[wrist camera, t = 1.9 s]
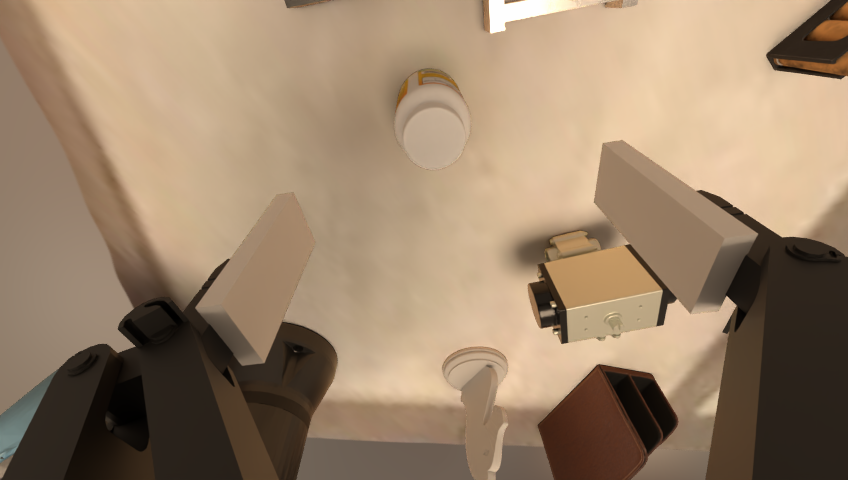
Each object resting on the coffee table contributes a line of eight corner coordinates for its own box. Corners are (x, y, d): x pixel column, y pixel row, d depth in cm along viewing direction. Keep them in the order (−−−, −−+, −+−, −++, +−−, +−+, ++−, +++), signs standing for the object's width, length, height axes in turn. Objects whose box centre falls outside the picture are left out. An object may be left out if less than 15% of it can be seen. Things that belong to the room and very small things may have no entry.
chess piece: (520, 358, 50) (554, 473, 38) (482, 390, 55) (501, 501, 43) (465, 338, 47) (483, 456, 35) (430, 374, 52) (435, 488, 40)
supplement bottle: (417, 144, 31) (418, 194, 23) (385, 90, 28) (373, 124, 20) (470, 114, 29) (491, 156, 21) (442, 54, 27) (454, 76, 19)
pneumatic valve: (511, 240, 37) (546, 324, 28) (621, 214, 36) (699, 294, 26) (517, 275, 40) (550, 363, 31) (619, 253, 39) (687, 338, 29)
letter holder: (536, 424, 62) (563, 520, 51) (597, 362, 51) (649, 466, 40) (583, 430, 64) (620, 524, 53) (651, 372, 53) (716, 474, 42)
